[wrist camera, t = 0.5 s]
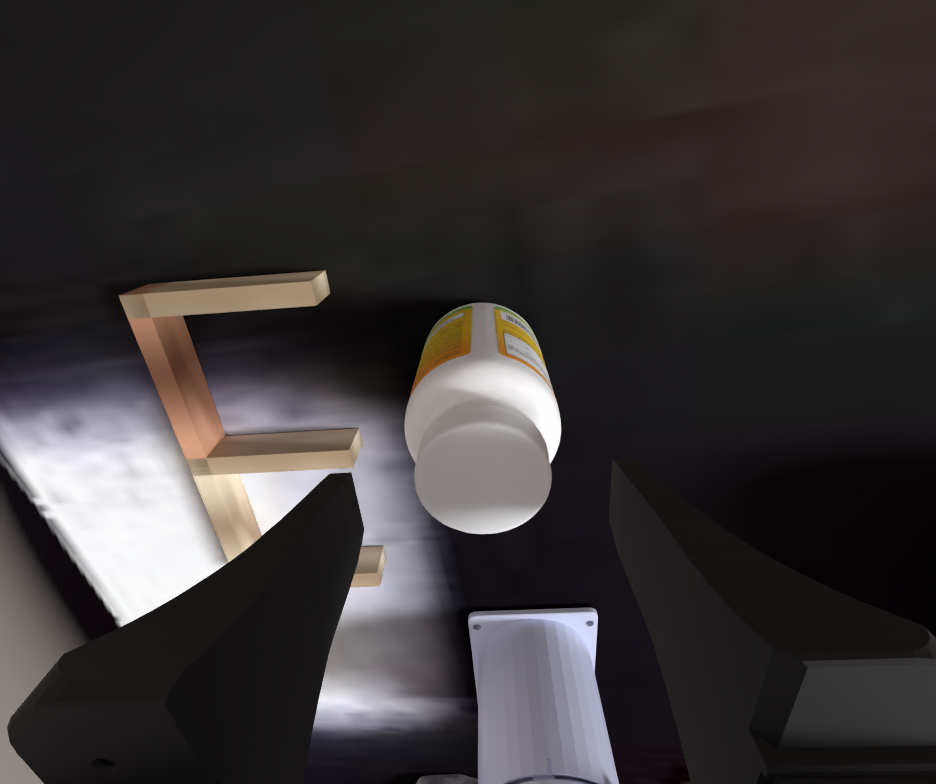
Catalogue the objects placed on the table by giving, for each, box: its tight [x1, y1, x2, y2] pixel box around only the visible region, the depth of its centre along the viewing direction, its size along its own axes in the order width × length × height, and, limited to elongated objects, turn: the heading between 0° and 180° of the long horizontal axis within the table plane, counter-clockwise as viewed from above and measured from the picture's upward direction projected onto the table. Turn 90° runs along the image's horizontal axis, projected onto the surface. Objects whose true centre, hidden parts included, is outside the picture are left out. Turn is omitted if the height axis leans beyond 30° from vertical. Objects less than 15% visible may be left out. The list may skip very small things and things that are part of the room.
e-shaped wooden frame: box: [119, 270, 386, 587], centre depth 24 cm, size 17×8×2 cm, turn 5°
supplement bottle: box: [405, 303, 561, 534], centre depth 18 cm, size 5×5×10 cm
